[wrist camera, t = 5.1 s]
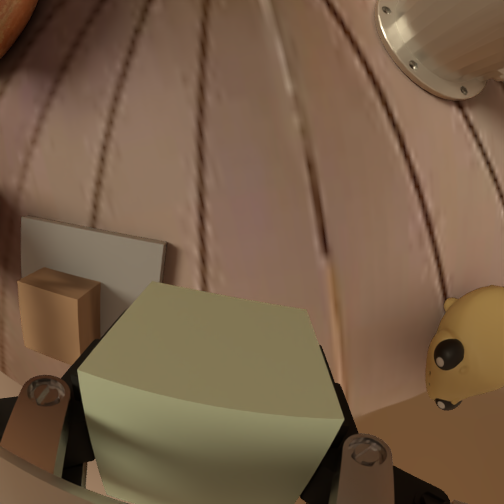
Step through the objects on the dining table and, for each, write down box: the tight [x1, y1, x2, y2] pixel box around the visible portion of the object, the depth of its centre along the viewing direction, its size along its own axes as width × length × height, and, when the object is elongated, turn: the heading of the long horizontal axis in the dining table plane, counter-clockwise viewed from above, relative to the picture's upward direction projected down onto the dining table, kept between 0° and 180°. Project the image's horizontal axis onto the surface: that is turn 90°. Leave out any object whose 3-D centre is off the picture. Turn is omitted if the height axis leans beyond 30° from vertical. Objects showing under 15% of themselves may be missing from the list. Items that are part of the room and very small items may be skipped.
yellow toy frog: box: [426, 285, 504, 410], centre depth 20 cm, size 10×12×11 cm
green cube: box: [77, 281, 344, 504], centre depth 8 cm, size 5×5×5 cm
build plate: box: [21, 216, 167, 337], centre depth 24 cm, size 14×12×1 cm
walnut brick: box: [17, 267, 101, 365], centre depth 21 cm, size 6×6×4 cm
